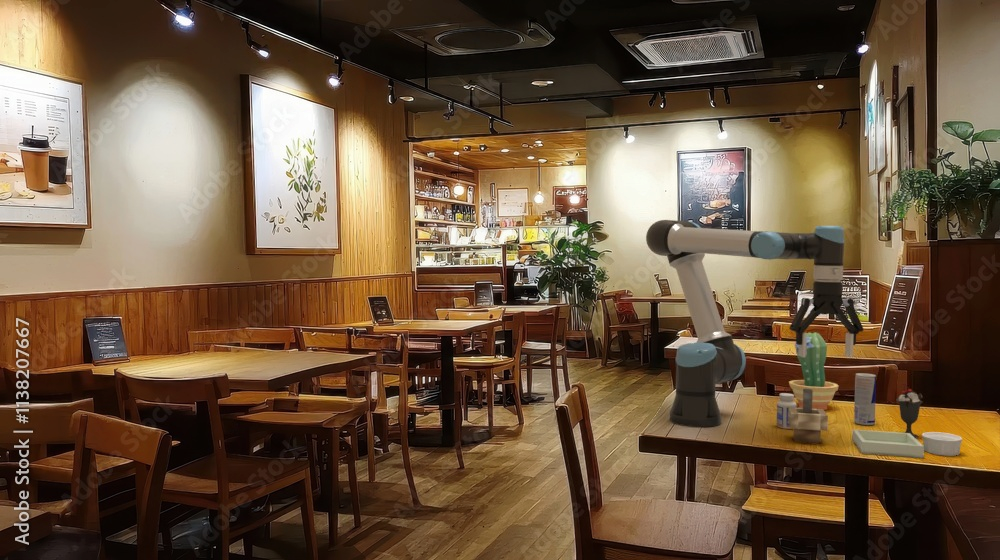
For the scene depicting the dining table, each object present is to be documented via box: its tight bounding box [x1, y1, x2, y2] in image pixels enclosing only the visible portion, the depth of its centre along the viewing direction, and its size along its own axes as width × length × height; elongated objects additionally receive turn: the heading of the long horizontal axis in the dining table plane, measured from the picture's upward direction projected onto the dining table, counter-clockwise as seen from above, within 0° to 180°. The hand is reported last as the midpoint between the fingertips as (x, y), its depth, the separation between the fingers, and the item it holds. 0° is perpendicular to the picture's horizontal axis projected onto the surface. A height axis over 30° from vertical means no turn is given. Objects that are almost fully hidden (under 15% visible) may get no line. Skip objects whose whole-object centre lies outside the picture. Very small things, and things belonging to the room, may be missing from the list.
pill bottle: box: [776, 392, 798, 430], centre depth 215 cm, size 5×5×10 cm
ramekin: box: [921, 431, 963, 457], centre depth 188 cm, size 9×9×4 cm
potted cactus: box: [788, 332, 840, 411], centre depth 243 cm, size 16×15×25 cm
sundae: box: [895, 383, 923, 439], centre depth 205 cm, size 7×7×15 cm
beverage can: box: [853, 372, 877, 426], centre depth 220 cm, size 6×6×15 cm
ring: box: [788, 407, 829, 432], centre depth 199 cm, size 9×9×4 cm
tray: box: [852, 429, 925, 459], centre depth 191 cm, size 14×14×3 cm
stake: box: [793, 389, 822, 445], centre depth 199 cm, size 7×7×14 cm
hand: (825, 356), depth 205 cm, fingers open, 13 cm apart
